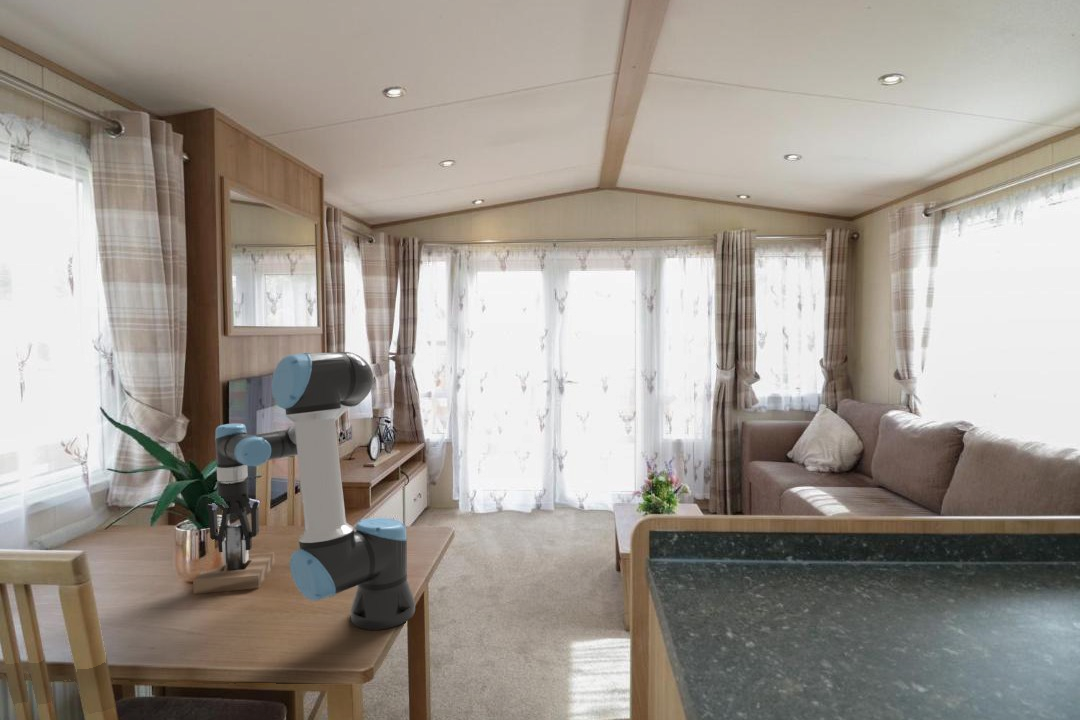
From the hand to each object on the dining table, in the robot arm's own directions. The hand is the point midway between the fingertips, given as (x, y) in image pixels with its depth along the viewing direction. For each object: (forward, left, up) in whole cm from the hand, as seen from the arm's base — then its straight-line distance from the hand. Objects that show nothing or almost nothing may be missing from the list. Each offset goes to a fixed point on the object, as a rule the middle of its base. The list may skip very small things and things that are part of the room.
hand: (235, 561), depth 158 cm
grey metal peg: (0, 0, -2) cm, 2 cm away
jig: (0, 0, -5) cm, 5 cm away
